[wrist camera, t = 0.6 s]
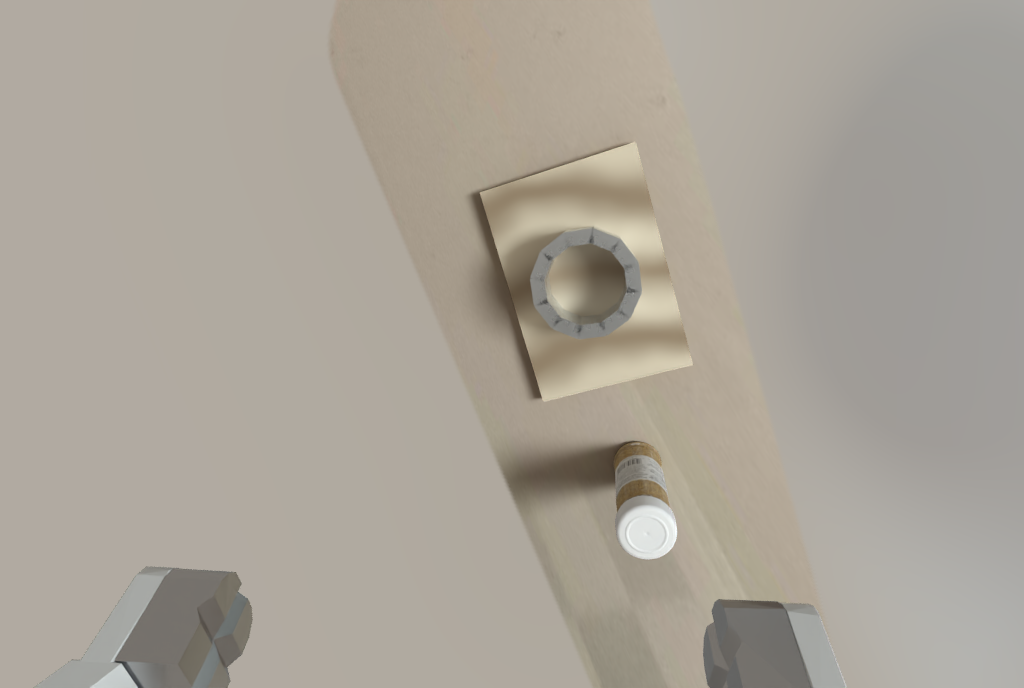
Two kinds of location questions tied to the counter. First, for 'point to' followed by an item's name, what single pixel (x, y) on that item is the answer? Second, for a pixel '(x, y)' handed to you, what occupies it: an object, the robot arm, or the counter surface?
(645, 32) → the counter surface
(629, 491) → the sprinkles bottle
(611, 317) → the steel ring
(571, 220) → the birch board
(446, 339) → the counter surface
